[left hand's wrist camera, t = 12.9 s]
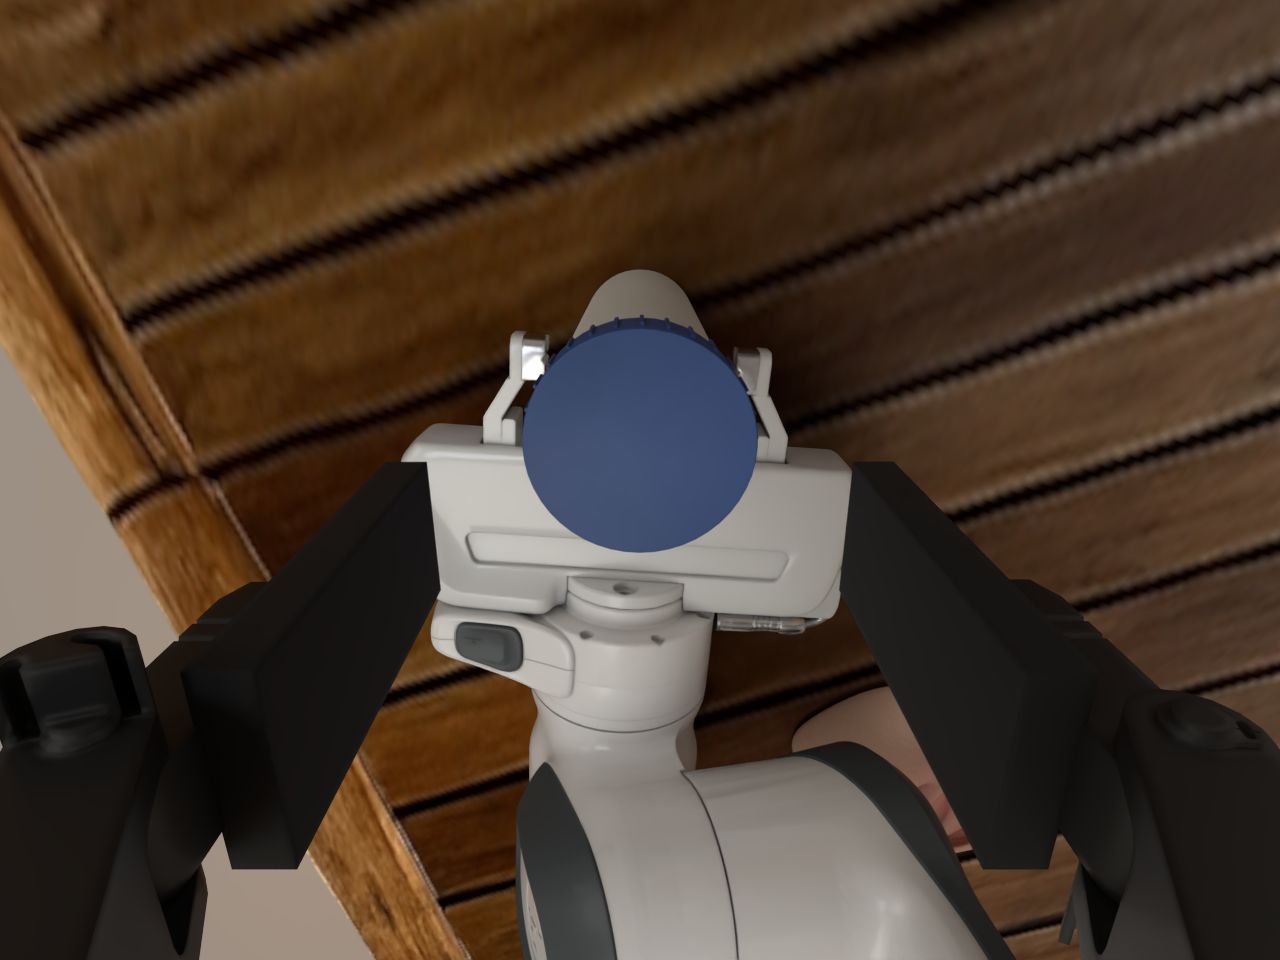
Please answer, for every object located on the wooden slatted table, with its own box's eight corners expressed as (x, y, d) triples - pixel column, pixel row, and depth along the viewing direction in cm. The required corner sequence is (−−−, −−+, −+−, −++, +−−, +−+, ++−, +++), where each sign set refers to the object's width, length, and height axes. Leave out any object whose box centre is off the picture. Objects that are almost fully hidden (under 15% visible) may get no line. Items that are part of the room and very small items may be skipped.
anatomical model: (770, 806, 43) (919, 684, 40) (760, 758, 47) (895, 643, 44) (919, 913, 46) (1067, 808, 43) (898, 861, 50) (1033, 760, 47)
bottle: (712, 295, 37) (783, 386, 19) (668, 395, 38) (693, 565, 20) (609, 251, 36) (578, 300, 18) (569, 355, 38) (504, 495, 20)
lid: (789, 367, 20) (803, 383, 18) (695, 556, 22) (700, 587, 20) (576, 277, 19) (569, 284, 17) (499, 482, 21) (487, 507, 19)
